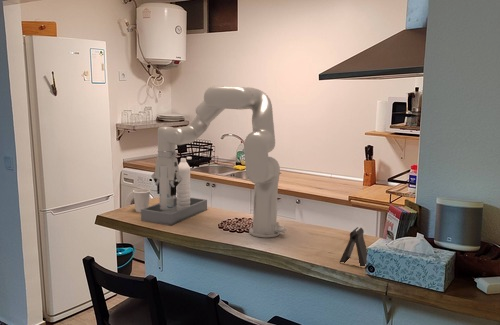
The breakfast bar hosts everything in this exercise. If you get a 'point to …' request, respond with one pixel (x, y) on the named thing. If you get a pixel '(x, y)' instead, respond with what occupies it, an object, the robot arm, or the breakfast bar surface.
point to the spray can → (165, 189)
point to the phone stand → (360, 244)
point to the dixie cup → (141, 198)
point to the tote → (173, 212)
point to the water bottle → (183, 185)
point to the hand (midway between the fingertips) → (166, 194)
